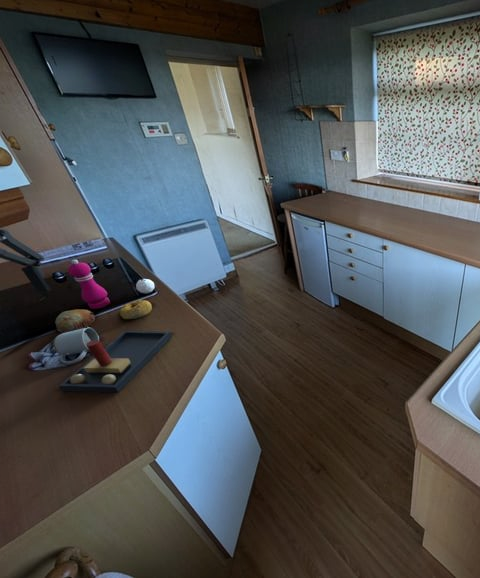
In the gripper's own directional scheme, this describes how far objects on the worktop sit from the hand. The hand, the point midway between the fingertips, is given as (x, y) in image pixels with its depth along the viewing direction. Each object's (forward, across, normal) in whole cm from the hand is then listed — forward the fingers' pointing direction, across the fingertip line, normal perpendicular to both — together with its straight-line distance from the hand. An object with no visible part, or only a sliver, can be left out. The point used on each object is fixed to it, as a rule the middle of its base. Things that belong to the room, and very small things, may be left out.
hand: (14, 306), depth 68 cm
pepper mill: (+29, +41, +29) cm, 58 cm away
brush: (+28, +6, -4) cm, 29 cm away
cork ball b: (+26, +2, -8) cm, 27 cm away
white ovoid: (+25, +50, +16) cm, 58 cm away
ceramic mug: (+29, +14, +12) cm, 34 cm away
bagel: (+29, +36, +10) cm, 47 cm away
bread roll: (+29, +28, +26) cm, 48 cm away
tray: (+28, +11, -4) cm, 31 cm away
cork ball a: (+26, +1, +1) cm, 26 cm away
